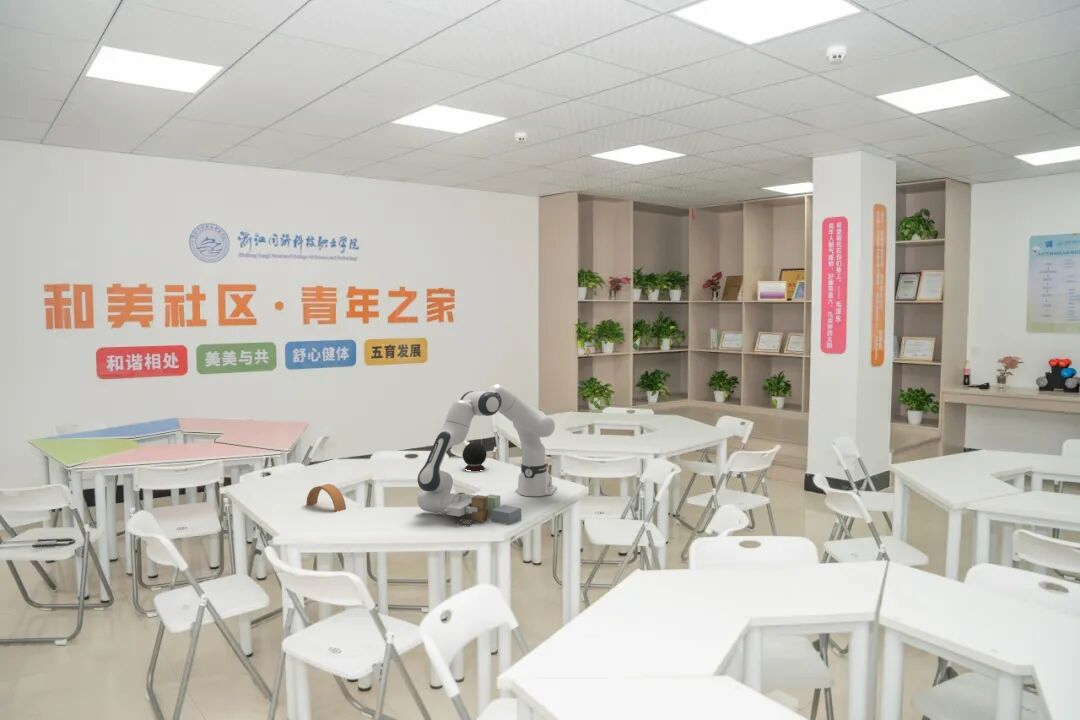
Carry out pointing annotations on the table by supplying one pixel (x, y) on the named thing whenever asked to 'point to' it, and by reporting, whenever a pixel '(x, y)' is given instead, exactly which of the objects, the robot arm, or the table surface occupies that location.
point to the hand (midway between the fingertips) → (481, 507)
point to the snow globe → (474, 456)
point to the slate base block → (506, 514)
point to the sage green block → (493, 503)
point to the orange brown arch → (333, 493)
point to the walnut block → (480, 508)
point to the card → (466, 522)
